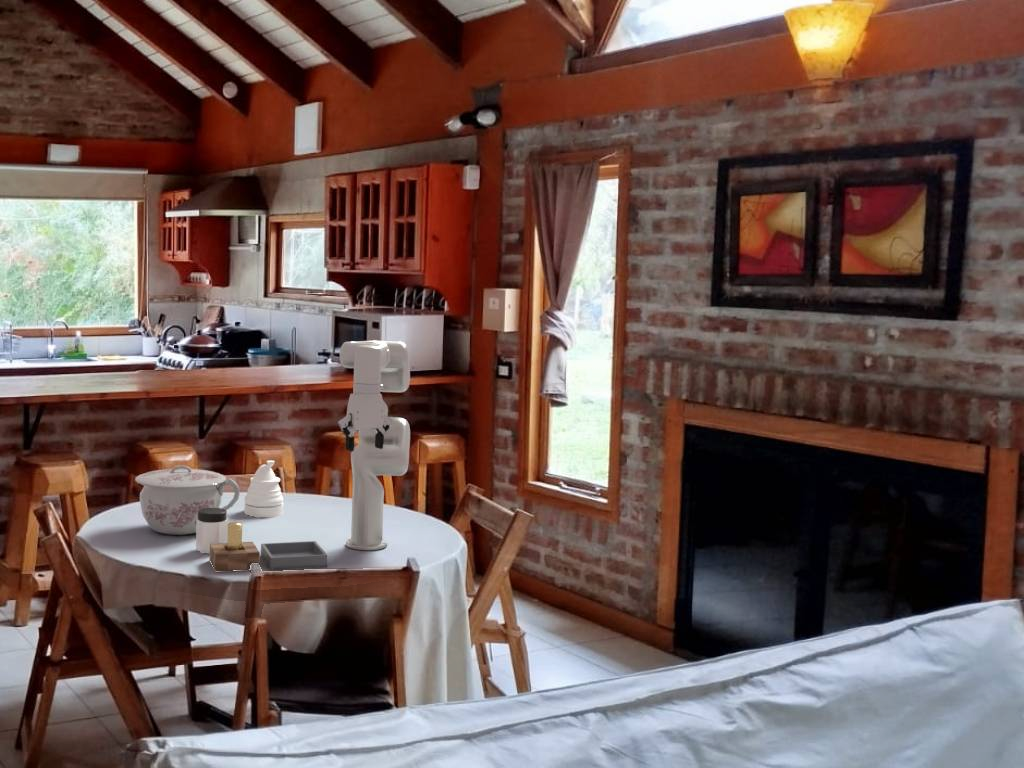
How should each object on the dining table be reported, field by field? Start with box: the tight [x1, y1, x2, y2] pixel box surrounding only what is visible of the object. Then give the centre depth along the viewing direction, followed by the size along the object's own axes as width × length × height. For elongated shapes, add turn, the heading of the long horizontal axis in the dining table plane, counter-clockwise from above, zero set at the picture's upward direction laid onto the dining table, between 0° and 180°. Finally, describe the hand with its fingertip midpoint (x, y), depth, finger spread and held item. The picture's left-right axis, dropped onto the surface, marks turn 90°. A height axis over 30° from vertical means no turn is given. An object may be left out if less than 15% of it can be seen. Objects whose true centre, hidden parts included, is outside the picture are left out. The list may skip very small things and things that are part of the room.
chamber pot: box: [134, 464, 241, 536], centre depth 360 cm, size 28×28×21 cm
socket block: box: [209, 541, 261, 572], centre depth 325 cm, size 12×12×5 cm
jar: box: [195, 507, 229, 554], centre depth 339 cm, size 9×8×12 cm
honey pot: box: [243, 460, 284, 519], centre depth 389 cm, size 13×13×18 cm
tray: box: [260, 540, 329, 571], centre depth 333 cm, size 16×16×4 cm
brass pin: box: [227, 521, 243, 551], centre depth 325 cm, size 4×4×12 cm
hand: (364, 449), depth 327 cm, fingers open, 9 cm apart
